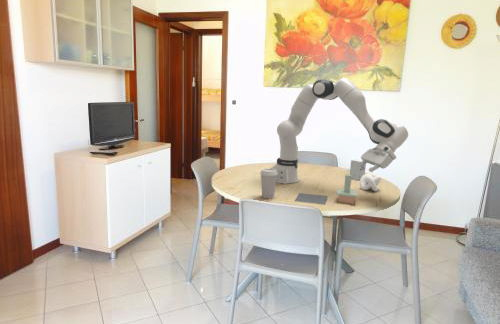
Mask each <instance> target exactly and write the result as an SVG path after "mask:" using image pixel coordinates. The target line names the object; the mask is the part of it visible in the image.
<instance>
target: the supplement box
mask: <svg viewBox="0 0 500 324" xmlns="http://www.w3.org/2000/svg"><path fill="white" fill-rule="evenodd" d="M362 161H363V160H362V159H360V158H359V159H357V158H356V159H351V160H350V167H349V175H351V180H356V181H360V179H361V177H362V176H363V175H365V174H366V166H367V163H366V164H365V165H364V167H363V168H360V167H359V165H360V164H361V163H362Z"/></svg>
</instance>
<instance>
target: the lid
mask: <svg viewBox="0 0 500 324" xmlns="http://www.w3.org/2000/svg"><path fill="white" fill-rule="evenodd" d="M344 177H345V178H344V186H343V187H344V188H339V187H337V191H336V195H337V196H339V195H342V196H351V197H355V198H357V196H358V191H357V189H351V183H352V179H351V175H350V173H349V174H347V173H346V174H344Z"/></svg>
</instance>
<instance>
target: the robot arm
mask: <svg viewBox="0 0 500 324" xmlns="http://www.w3.org/2000/svg"><path fill="white" fill-rule="evenodd" d="M337 98H339V99H340V100H341V102H342V103H343V104H344V105H345V106H346V107H347V108H348V109H349V110H350V111H351V112H352V114H353V115H354V116H355V117H356V118H357V120H358V121H359V122H360V124H361V125H362V126H363V127H364V129H365V130H366V131H367V133H368V137H369V140H370V141H371V142H372V143H373V144H375V147H372V148H369V149H367V150H366V151H365V152H364V153H363V154H362V155H361V156H360V160H363V161H362V163H361V164H360V165H359V167H360V168H363V167H364V165H365V164H366V165H367V164H369V165H373V166H371V167H369V168H368V171H369V172H370V173H373V172H374V171H376V170H379V168H380V169H382V170H384V169H386V168H387V167H388V166H389V165H390V164H391V163H393V161H394V160H396V159H397V156H396V154H395V152H396V150H397V149H398V148H400V147H401V146H402V145H403V144H404V143H405V142H406V140H408V137H409V131H408V130H407V128H406V127H405V126H404V125H402V124H395V123H393V122H389V120H387V119H383V118H382V119H381V118H380V119H376V120H374V118H372V116H371V115H370V113H369V112H368V109H367V104H366V98H365V95H364V94H363V92H362V91H361V89H360V88H359V87H358V86H357V85H356V84H355V83H354V82H352V81H351V80H350V79H348V78H347V77H342V78H339V79H338V80H337V81H336V82H335V81H332V80H329V79H318V80H316V81H315V82H314V83H307V84H306V85H305V86H304V87H303V88H302V90H301V91H300V92H299V94H298V95H297V97H296V99H295V101H294V103H293V105H292V106H291V110H290V114H289V117H288V118H287V119H286V120H283V121H281V122H280V123H279V124H278V125H277V128H276V133H277V135H278V139H279V146H280V147H279V148H280V149H279V151H280V152H279V153H280V154H279V157H278V158H277V159H276V164H274V165H273V166H272V167H270V168H269V169H275V170H276V171H277V173H278V175H277V178H276V184H277V183H279V184H284V185H285V184H293V183H294V184H295V183H298V182H299V181H300V180H299V175H298V167H299V160H298V155H299V154H298V153H299V146H298V144H297V137H298V136H299V135H300V134H301V133H302V131H303V128H304V126H305V123H306V121H307V118H308V117H309V114H310V113H311V111H312V109H313V107H314V106H315V103H316V102H317V101H318V99H321V100H326V101H327V100H329V101H333V100H335V99H337Z"/></svg>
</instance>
